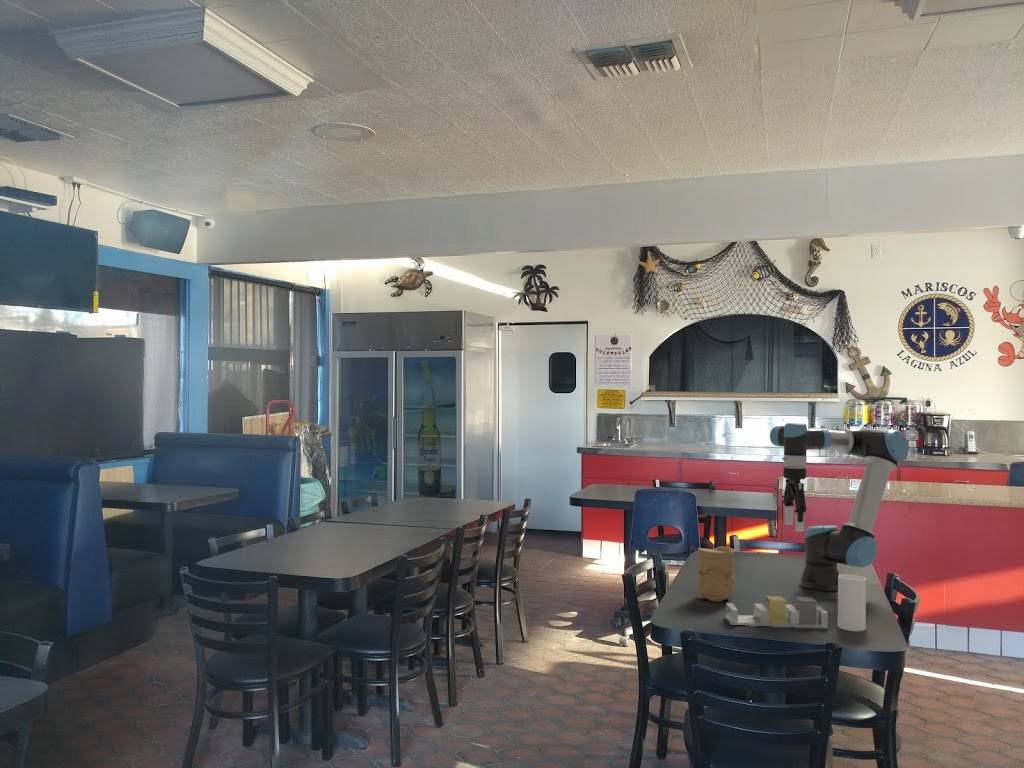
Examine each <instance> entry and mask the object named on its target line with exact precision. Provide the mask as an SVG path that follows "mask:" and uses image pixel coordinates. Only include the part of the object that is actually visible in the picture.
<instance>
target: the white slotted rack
mask: <svg viewBox="0 0 1024 768" xmlns="http://www.w3.org/2000/svg"><path fill="white" fill-rule="evenodd" d="M725 619H726V620H727V622H728V621H729V622H728V623H729V625H730V624H731V625H746V626H745V627H757V626H769V627H768V628H790V627H794V628H796V629H797V628H799V629H825V630H826V629H829V628H828V626H829V625H828V623H829V620H828V619H829V612H828V611H827V610H825V608H823V607H822V606H821V605H819V604H817V600H816V599H814V597H810V596H809V597H808V596H796V597H795V607H794V605H792V604H786V622H769V621H768V610H767V609H766V606H765V605H763V603H758V602H757V603H753V615H750V614H749V615H745V614H743V615H741V614H739V610H738V608H737V607H736V605H735V604H734V603H733V602H725ZM731 625H730V626H731ZM748 625H749V626H748ZM770 626H772V627H770ZM794 628H793V629H794Z"/></svg>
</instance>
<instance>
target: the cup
mask: <svg viewBox="0 0 1024 768" xmlns="http://www.w3.org/2000/svg"><path fill="white" fill-rule="evenodd" d="M866 606H867V578H866V577H865V576H861V575H857V574H847V573H846V574H843V573H842V574H839V576H838V590H837V627H838V628H839V629H841V630H844V631H848V632H849V631H850V632H864V631H865V630H866V627H867V626H866V624H867V623H866V618H867V616H866V615H867V614H866V613H867V611H866V610H867V609H866Z"/></svg>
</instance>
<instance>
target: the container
mask: <svg viewBox="0 0 1024 768" xmlns="http://www.w3.org/2000/svg"><path fill="white" fill-rule="evenodd" d="M697 550H698V551H697V554H698V556H697V570H698V571H697V597H698V599H700V600H709V601H710V602H714V603H722V602H723V601H725V600H727V599H729V598H731V597H732V595H733V594H734V589H735V574H734V573H735V572H734V571H735V558H734V557H735V548H731V547H729V546H722V545H721V546H718V547H715V548H713V549H710V548H701V547H698V548H697Z"/></svg>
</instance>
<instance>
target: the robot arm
mask: <svg viewBox="0 0 1024 768" xmlns="http://www.w3.org/2000/svg"><path fill="white" fill-rule="evenodd" d="M769 440H770V442H771V444H772V445H773V446H776V447H780V448H783V457H782V458H781V459H782V461H783V466H784V468H783V473H782V474H783V478H784V479H785V487H784V493H783V499H782V503H783V506H784V525H785V526H786V525H787V526H793V525H794V524H795V525H794V527H795V528H794V532H797V533H798V532H801V533H803V532H805V535H804V567H803V570H802V572H801V574H800V578H799V585H800V586H801V587H803V588H805V589H808V590H814V591H824V592H825V591H826V592H834V591H838V576H839V575H840V571H839V569H838V564H841V565H846V566H849V567H851V568H859V569H861V568H862V569H863V568H867V567H869V566H870V565H872V563H873V562H874V561H875V559H876V557H877V554H878V550H879V548H878V543H877V541H876V540H875V534H874V532H873V528H874V525H875V521H876V518H877V515H878V512H879V509H880V505H881V502H882V499H883V496H884V493H885V490H886V488H887V487H886V486H887V484H888V480H889V478H890V474H891V471H893V470H896V469H897V467H898V463H901V462H904V461H905V460H906V459H907V458H908V455H909V451H910V446H909V441H908V439H907V437H906V435H905V434H904V433H903V432H902V431H901V430H897V429H892V428H872V427H863V428H862V427H861V428H860V427H859V428H840V429H838V430H834V429H833V430H831V429H830V430H829V429H827V428H824V427H823V428H821V427H817V428H816V427H815V428H812V427H808V426H807V424H806V423H801V422H800V423H799V422H786V423H785V425H784V426H783V425H776V426H773V427H772V429H771V430H770V432H769ZM807 450H808V451H809V450H819V451H820V450H824V451H825V450H827V451H836V452H837V453H839V454H845V455H849V456H850V455H851V456H854V457H859V458H863V459H864V461H865V463H866V465H865V468H864V472H863V474H862V477H861V480H860V483H859V486H858V490H857V492H856V496H855V500H854V502H853V504H852V508H851V511H850V514H849V517H848V521H847V522H845V523H842V525H841V528H840V531H839V527H838V526H837V525H813V526H812V525H811V526H808V527H807V528H806V529H805V512H807V505H806V495H805V484H804V482H801V480H805V479H806V478H807V469H806V467H807ZM794 507H795V509H794ZM794 513H795V516H794ZM794 519H795V521H794ZM794 522H795V523H794Z"/></svg>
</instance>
